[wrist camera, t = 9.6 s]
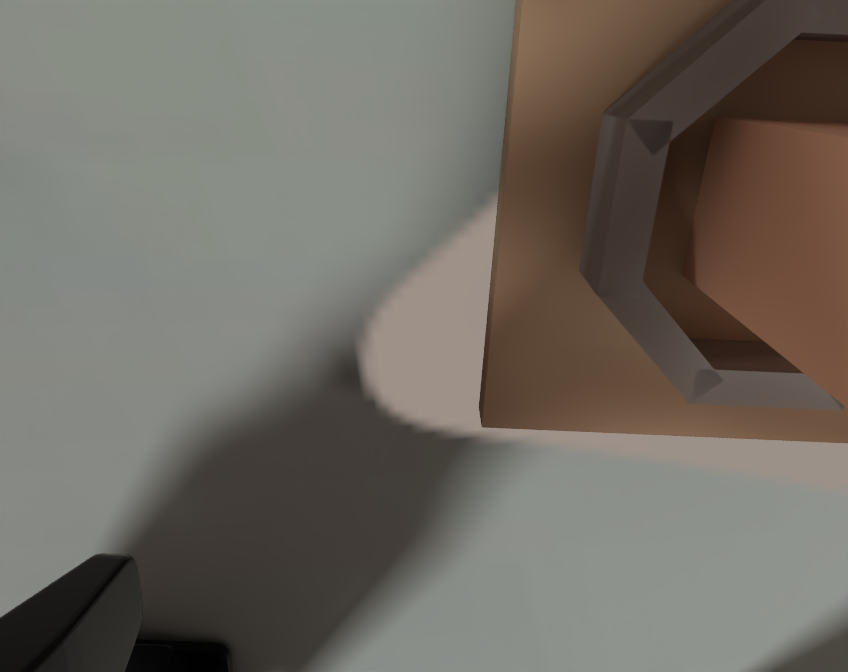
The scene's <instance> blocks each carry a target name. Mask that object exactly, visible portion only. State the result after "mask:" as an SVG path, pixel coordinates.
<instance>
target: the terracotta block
mask: <svg viewBox="0 0 848 672" xmlns="http://www.w3.org/2000/svg"><path fill="white" fill-rule="evenodd" d="M681 275H683V276H684V277H685V278H686V279H688V280H689V281H690V282H691V283H693V284H694V285H695V286H696V287H698V288H699V289H700V290H701V291H702V292H704V293H705V294H706V295H707V296H709V297H710V298H711V299H712V300H714V301H715V302H716V303H717V304H719V305H720V306H721V307H722V308H724V309H725V310H726V311H727V312H728V313H730V314H731V315H732V316H733V317H735V318H736V319H737V320H738V321H740V322H741V323H742V324H743V325H745V326H746V327H747V328H748V329H750V330H751V331H752V332H753V333H754V334H756V335H757V336H758V337H759V338H761V339H762V340H763V341H764V342H766V343H767V344H768V345H769V346H771V347H772V348H773V349H774V350H776V351H777V352H778V353H779V354H781V355H782V356H783V357H784V358H785V359H787V360H788V361H789V362H790V363H792V364H793V365H794V366H795V367H797V368H798V369H799V370H800V371H802V372H803V373H804V374H805V375H807V376H808V377H809V378H810V379H811V380H813V381H814V382H815V383H816V384H818V385H819V386H820V387H821V388H823V389H824V390H825V391H826V392H828V393H829V394H830V395H831V396H833V397H834V398H835V399H836V400H838V401H839V402H840V403H841V404H842V405H844V406H845V407H846V408H847V409H848V123H835V122H814V121H792V120H770V119H748V118H727V117H716V118H715V123H714V127H713V132H712V136H711V141H710V146H709V150H708V155H707V159H706V164H705V168H704V173H703V178H702V182H701V187H700V191H699V196H698V200H697V205H696V210H695V214H694V219H693V223H692V228H691V233H690V237H689V242H688V246H687V251H686V255H685V260H684V265H683V269H682V274H681Z"/></svg>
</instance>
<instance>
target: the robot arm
mask: <svg viewBox="0 0 848 672" xmlns="http://www.w3.org/2000/svg"><path fill="white" fill-rule="evenodd" d="M142 616H143V604H142V597H141V590H140V583H139V576H138V569H137V564H136V561H135V559H134V558H133V557H132V556H130V555H126V554H105V553H102V554H97V555H94V556H92V557H91V558H89V559H87V560H86V561H84V562H83V563H81V564H80V565H78V566H77V567H75V568H74V569H72V570H71V571H69V572H68V573H66V574H65V575H63V576H62V577H60V578H59V579H57V580H56V581H54V582H53V583H51V584H50V585H48V586H47V587H45V588H44V589H42V590H41V591H39V592H38V593H36V594H35V595H33V596H32V597H30V598H29V599H27V600H26V601H24V602H23V603H21V604H20V605H18V606H17V607H15V608H14V609H12V610H11V611H9V612H8V613H6V614H5V615H3V616H2V617H0V672H233V669H232V660H231V652H230V650H229V648H228V647H227V646H225V645H223V644H219V643H205V642H180V641H155V640H136V638H137V635H138V632H139V629H140V626H141V622H142Z"/></svg>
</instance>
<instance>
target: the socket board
mask: <svg viewBox="0 0 848 672" xmlns="http://www.w3.org/2000/svg"><path fill="white" fill-rule="evenodd" d="M716 117H727V118H748V119H770V120H792V121H814V122H835V123H848V0H516V10H515V21H514V32H513V43H512V53H511V64H510V75H509V86H508V97H507V108H506V119H505V130H504V140H503V151H502V162H501V173H500V184H499V195H498V206H497V216H496V228H495V239H494V250H493V261H492V271H491V283H490V293H489V304H488V314H487V325H486V326H487V327H486V336H485V348H484V358H483V369H482V380H481V392H480V401H479V410H480V418H481V424H482V427H490V428H512V429H535V430H557V431H581V432H603V433H627V434H650V435H673V436H695V437H718V438H740V439H763V440H786V441H809V442H810V441H811V442H832V443H833V442H834V443H848V409H847V408H846V407H845V406H844V405H842V404H841V403H840V402H839V401H838V400H836V399H835V398H834V397H833V396H831V395H830V394H829V393H828V392H826V391H825V390H824V389H823V388H821V387H820V386H819V385H818V384H816V383H815V382H814V381H813V380H811V379H810V378H809V377H808V376H807V375H805V374H804V373H803V372H802V371H800V370H799V369H798V368H797V367H795V366H794V365H793V364H792V363H790V362H789V361H788V360H787V359H785V358H784V357H783V356H782V355H781V354H779V353H778V352H777V351H776V350H774V349H773V348H772V347H771V346H769V345H768V344H767V343H766V342H764V341H763V340H762V339H761V338H759V337H758V336H757V335H756V334H754V333H753V332H752V331H751V330H750V329H748V328H747V327H746V326H745V325H743V324H742V323H741V322H740V321H738V320H737V319H736V318H735V317H733V316H732V315H731V314H730V313H728V312H727V311H726V310H725V309H724V308H722V307H721V306H720V305H719V304H717V303H716V302H715V301H714V300H712V299H711V298H710V297H709V296H707V295H706V294H705V293H704V292H702V291H701V290H700V289H699V288H698V287H696V286H695V285H694V284H693V283H691V282H690V281H689V280H688V279H686V278H685V277H684V276H683V275H681V274H682V269H683V265H684V260H685V255H686V251H687V246H688V242H689V237H690V233H691V228H692V223H693V219H694V214H695V210H696V205H697V200H698V196H699V191H700V187H701V182H702V178H703V173H704V168H705V164H706V159H707V155H708V150H709V146H710V141H711V136H712V132H713V127H714V123H715V118H716Z"/></svg>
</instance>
